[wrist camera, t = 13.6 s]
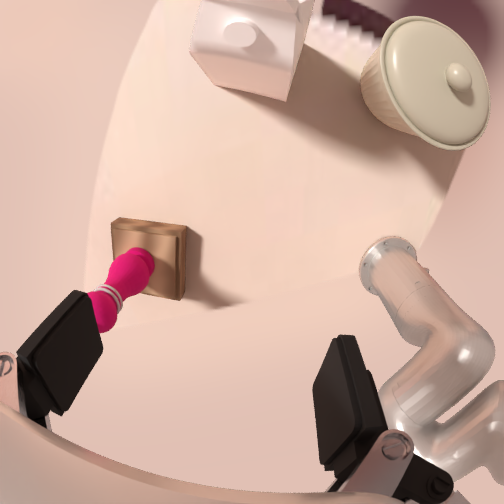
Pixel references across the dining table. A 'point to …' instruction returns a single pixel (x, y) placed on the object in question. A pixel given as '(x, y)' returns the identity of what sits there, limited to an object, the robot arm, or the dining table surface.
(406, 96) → the canister
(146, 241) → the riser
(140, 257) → the pepper mill
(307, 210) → the dining table surface
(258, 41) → the milk
